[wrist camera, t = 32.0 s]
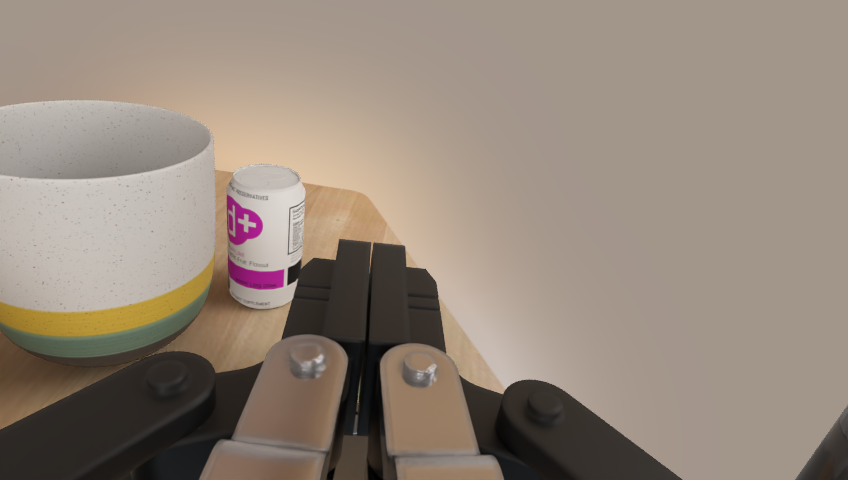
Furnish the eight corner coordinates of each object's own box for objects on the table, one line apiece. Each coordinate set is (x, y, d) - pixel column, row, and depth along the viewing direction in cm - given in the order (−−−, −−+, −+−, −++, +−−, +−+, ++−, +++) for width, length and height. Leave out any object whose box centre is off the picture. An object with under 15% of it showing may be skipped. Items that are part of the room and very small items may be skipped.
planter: (116, 266, 65) (92, 88, 55) (257, 317, 60) (258, 133, 51) (-61, 364, 48) (-142, 133, 38) (116, 443, 44) (76, 205, 34)
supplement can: (252, 321, 60) (253, 198, 53) (216, 286, 64) (212, 168, 57) (313, 297, 65) (321, 183, 58) (275, 267, 70) (278, 158, 63)
